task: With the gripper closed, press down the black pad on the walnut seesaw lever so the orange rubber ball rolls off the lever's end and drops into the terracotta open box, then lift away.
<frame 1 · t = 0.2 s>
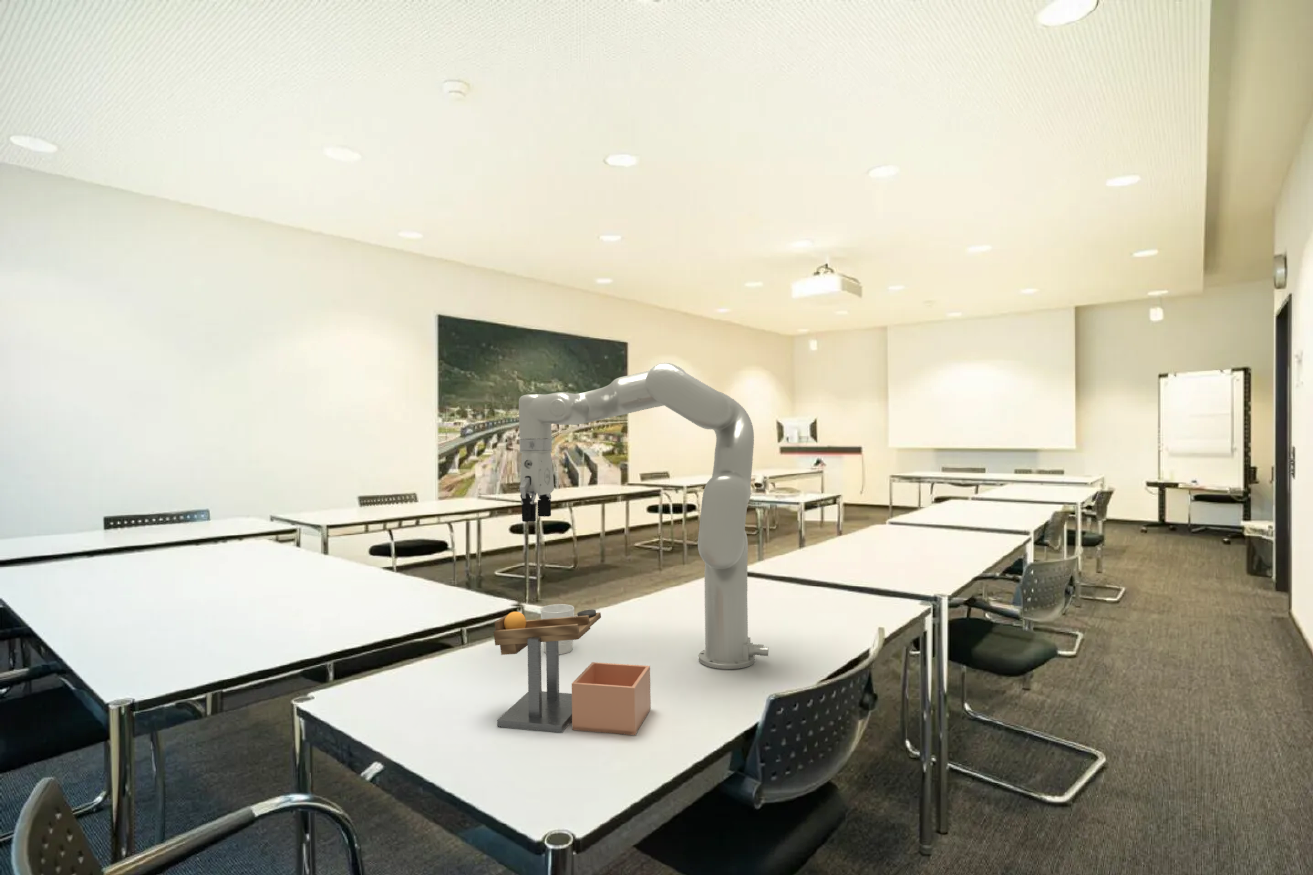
hand: (536, 518, 162), 31 cm above the table, tool pointing down, fingers open, 9 cm apart
stand: (544, 713, 125), on the table
lever: (550, 625, 129), point 15 cm above the table, hinge at 7.0°, touching ball
terracotta open box: (612, 718, 122), on the table
white cup: (558, 651, 162), on the table
ball: (515, 622, 126), point 16 cm above the table, tilted 13°, touching lever
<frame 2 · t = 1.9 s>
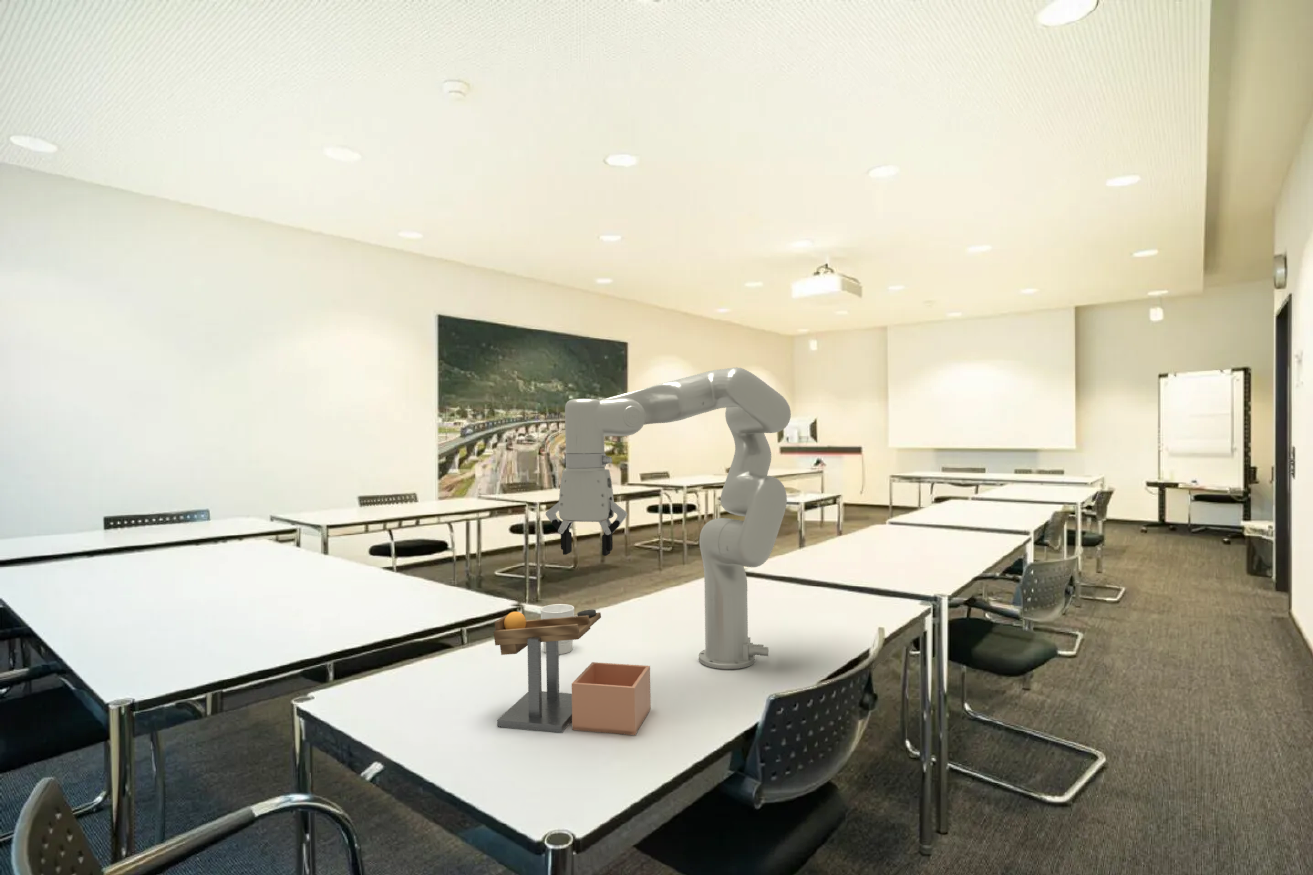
hand: (586, 553, 132), 28 cm above the table, tool pointing down, fingers open, 7 cm apart
nothing on the table moved.
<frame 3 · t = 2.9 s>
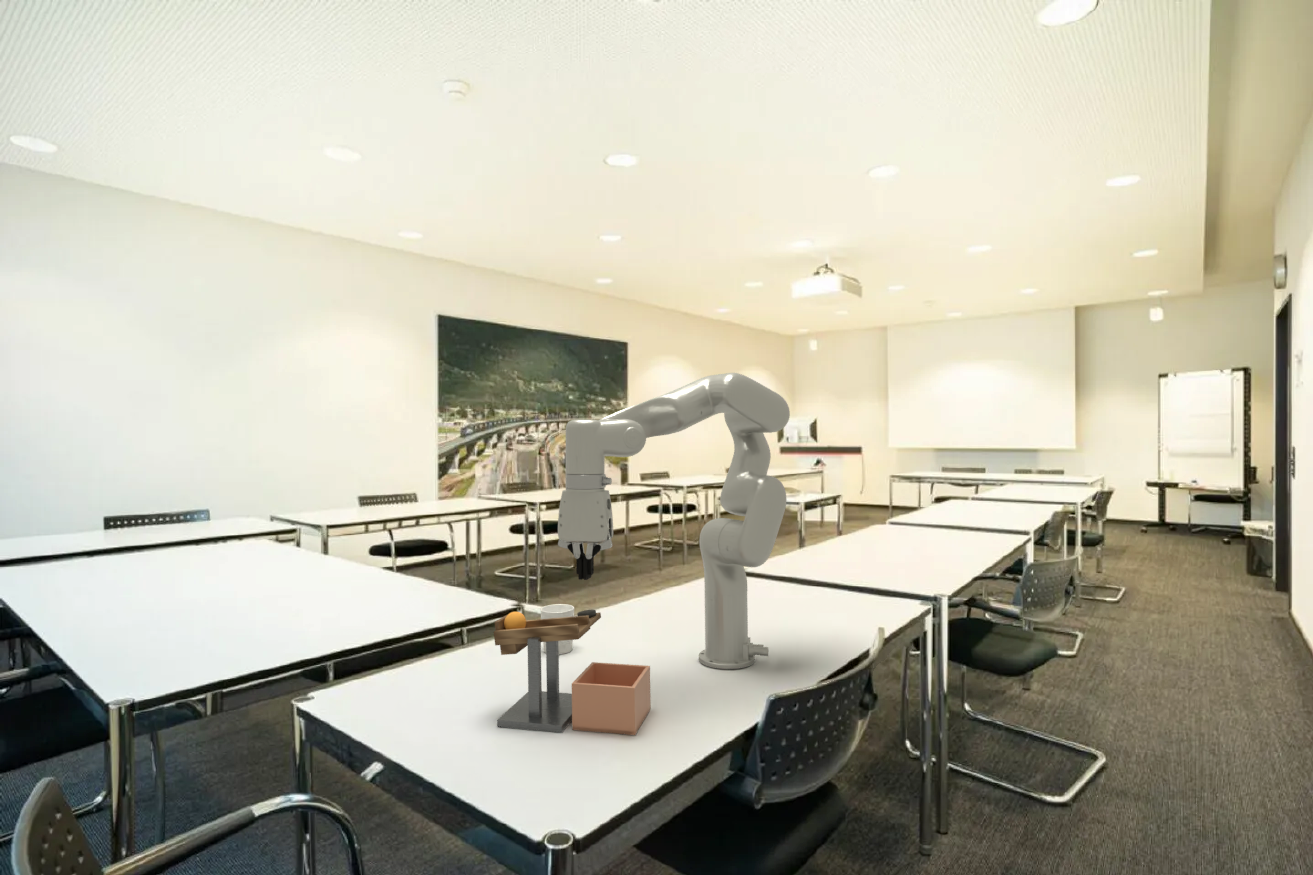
hand: (585, 578, 132), 23 cm above the table, tool pointing down, fingers closed
nothing on the table moved.
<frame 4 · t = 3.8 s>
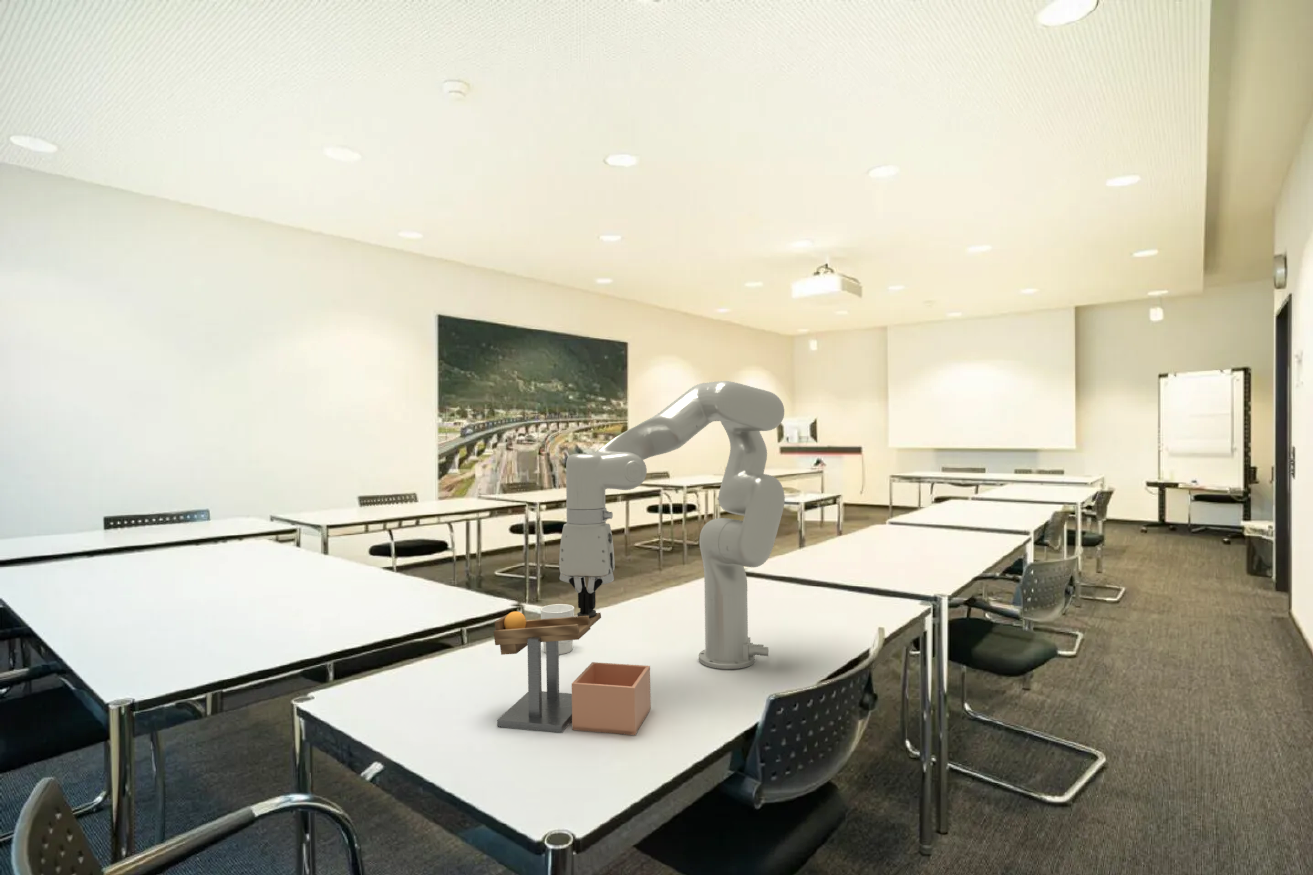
hand: (586, 611, 132), 17 cm above the table, tool pointing down, fingers closed
lever: (550, 625, 129), point 15 cm above the table, hinge at 6.7°, touching gripper
ball: (515, 622, 126), point 16 cm above the table, tilted 12°
everything else where it was.
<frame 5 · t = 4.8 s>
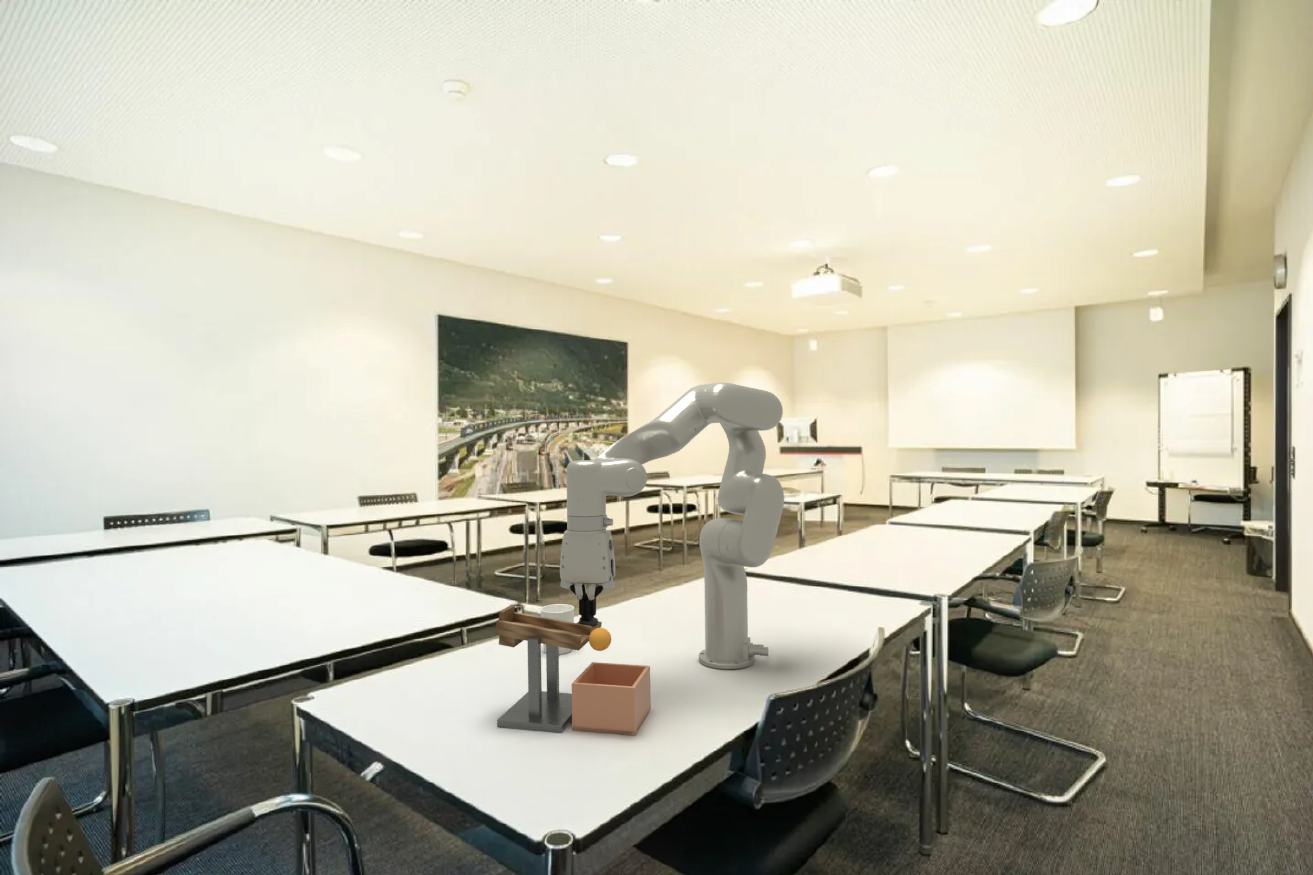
hand: (587, 618, 132), 15 cm above the table, tool pointing down, fingers closed
lever: (552, 625, 129), point 15 cm above the table, hinge at -7.3°, touching gripper
ball: (600, 639, 123), point 14 cm above the table, tilted 94°
everything else where it was.
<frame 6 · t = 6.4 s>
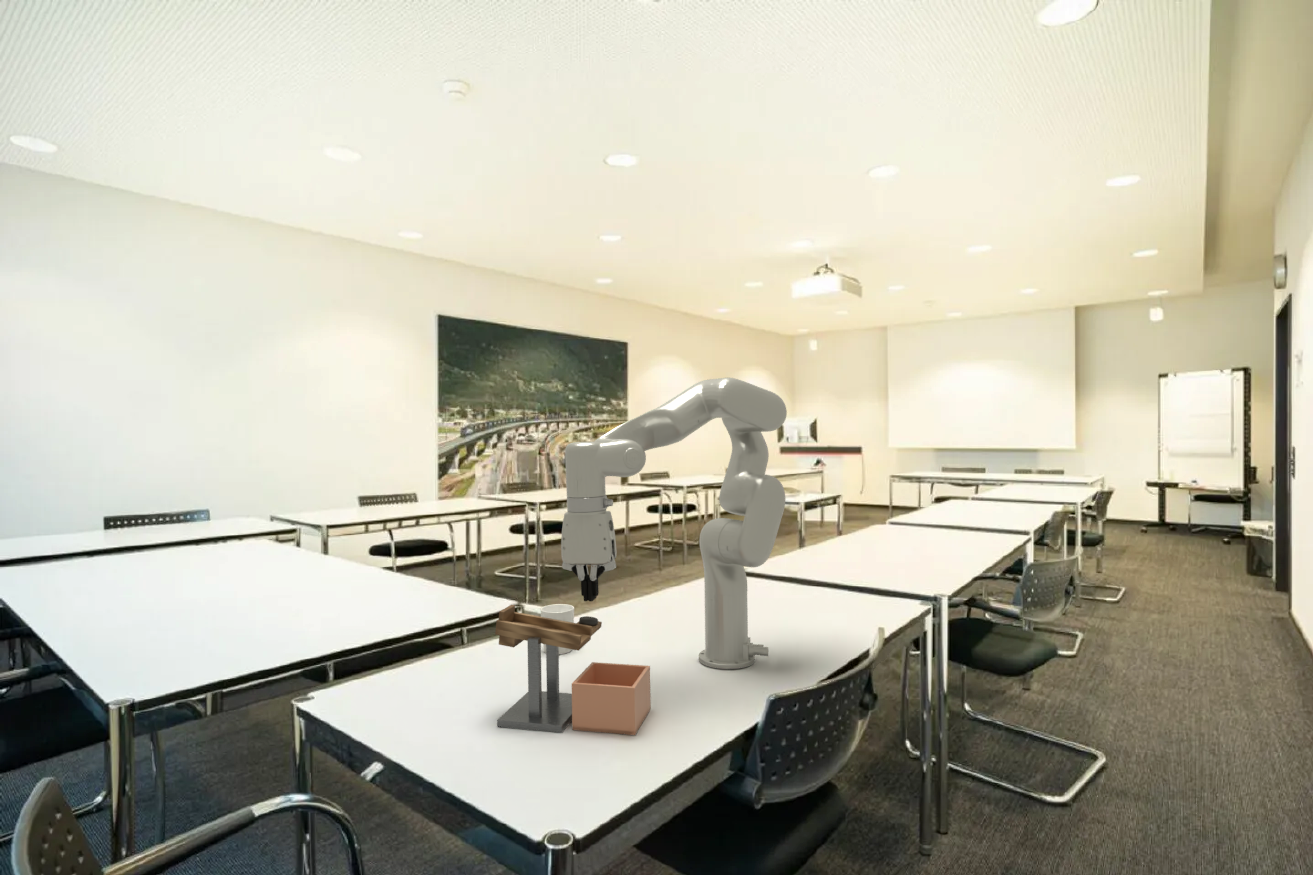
hand: (590, 599, 133), 19 cm above the table, tool pointing down, fingers closed
lever: (552, 625, 129), point 15 cm above the table, hinge at -7.3°
ball: (617, 704, 122), point 3 cm above the table, tilted 102°, touching terracotta open box
everything else where it was.
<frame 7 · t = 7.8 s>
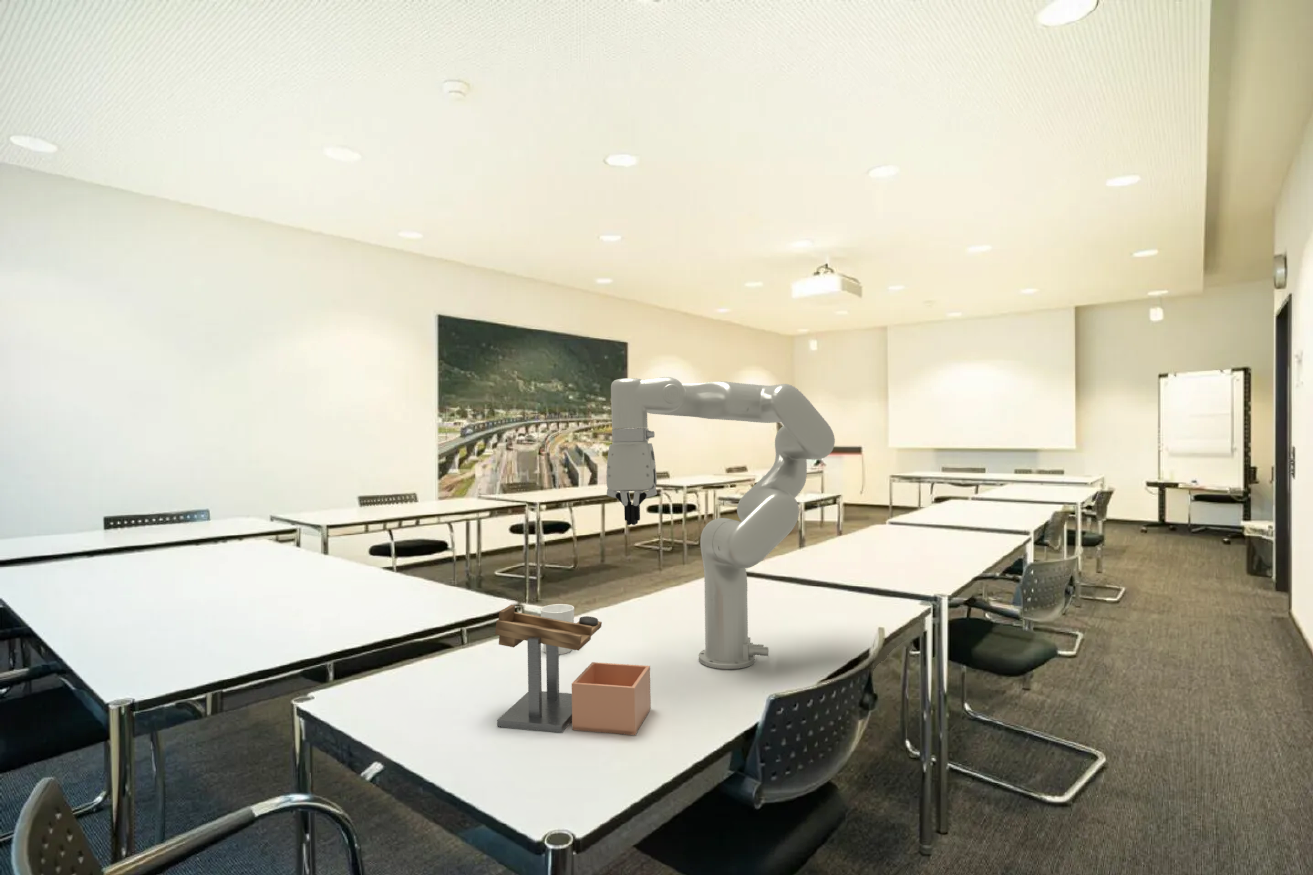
hand: (632, 523, 145), 32 cm above the table, tool pointing down, fingers closed
ball: (606, 703, 122), point 3 cm above the table, tilted 163°, touching terracotta open box
everything else where it was.
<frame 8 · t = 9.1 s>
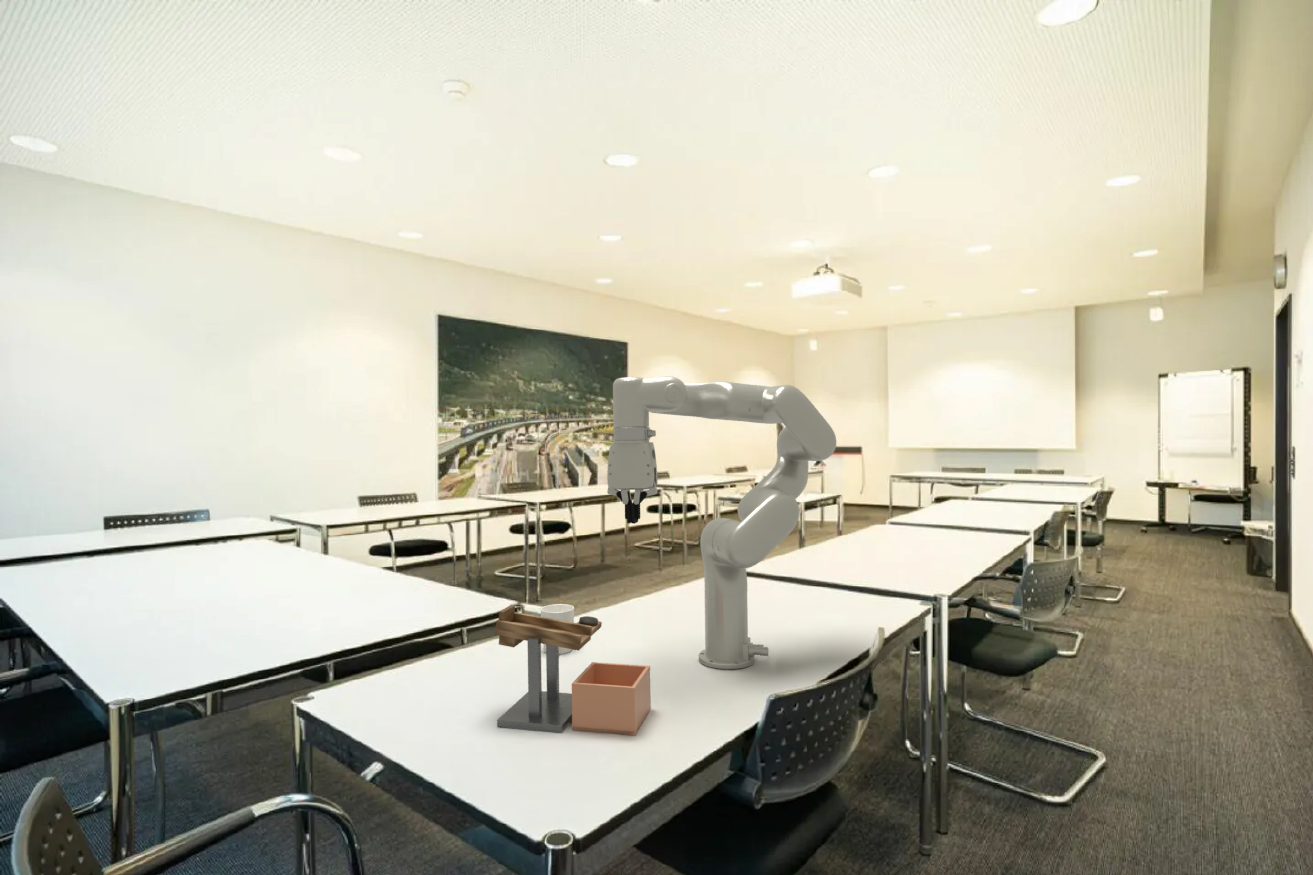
hand: (632, 522, 145), 32 cm above the table, tool pointing down, fingers closed
ball: (596, 703, 123), point 3 cm above the table, tilted 145°, touching terracotta open box
everything else where it was.
at the end: ball inside the target area on the terracotta open box (3.0 cm from its centre), point 2.6 cm above the terracotta open box's base; ball moved 20.6 cm from its start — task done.
